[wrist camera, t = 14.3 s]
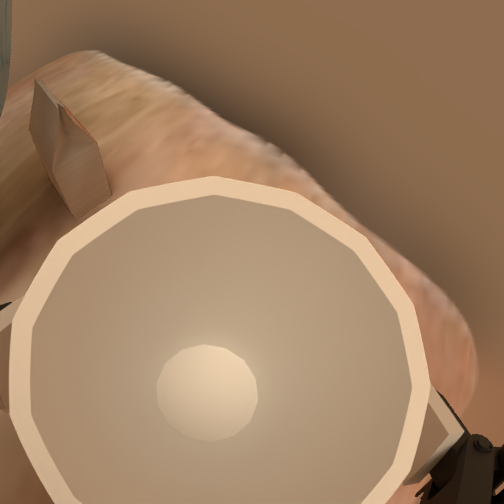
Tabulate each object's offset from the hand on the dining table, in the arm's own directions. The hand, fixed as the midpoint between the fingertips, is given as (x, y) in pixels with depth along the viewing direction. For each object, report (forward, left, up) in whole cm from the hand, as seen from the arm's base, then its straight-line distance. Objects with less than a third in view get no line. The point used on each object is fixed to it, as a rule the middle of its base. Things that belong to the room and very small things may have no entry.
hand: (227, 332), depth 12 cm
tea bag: (-18, -2, -7) cm, 20 cm away
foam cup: (+1, -2, -7) cm, 7 cm away
